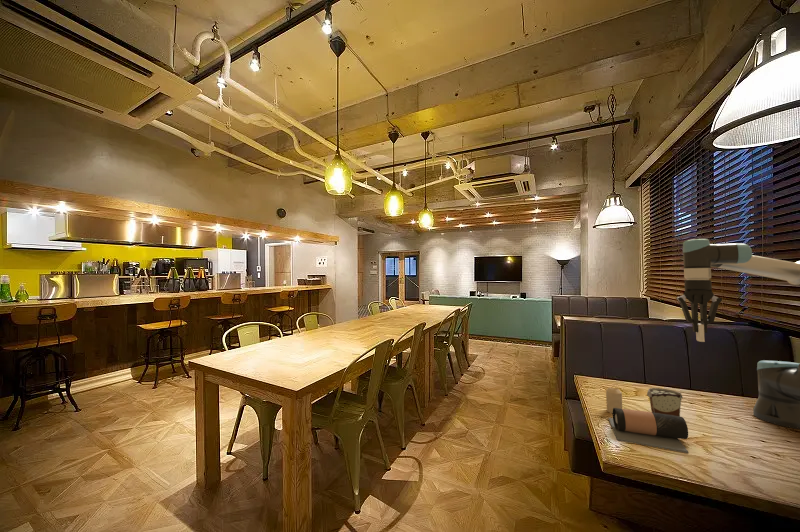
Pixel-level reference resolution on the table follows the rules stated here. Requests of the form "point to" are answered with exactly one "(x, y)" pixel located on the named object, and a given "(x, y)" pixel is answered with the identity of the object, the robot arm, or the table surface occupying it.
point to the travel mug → (650, 423)
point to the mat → (648, 439)
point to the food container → (665, 401)
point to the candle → (613, 399)
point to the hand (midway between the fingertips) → (700, 341)
